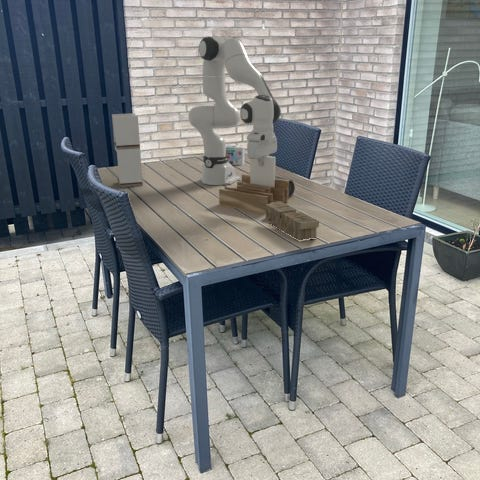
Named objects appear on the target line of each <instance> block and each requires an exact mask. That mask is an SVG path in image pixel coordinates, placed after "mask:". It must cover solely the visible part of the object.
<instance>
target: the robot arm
mask: <svg viewBox="0 0 480 480" xmlns="http://www.w3.org/2000/svg"><path fill="white" fill-rule="evenodd" d="M198 54H199V56H200V57H201V59H203V63H202V74H201V75H202V93H203V94H204V96H205V97H207V98H209V99H211V100H213V101H214V103H215V105H199V106H193V107H192V108H191V109H190V110H189V112H188V117H187V118H188V121H189V123H190V125H191V126H192V127H193V128H194V129H195V130H197V132H199V134H200V136H201V138H202V142H203V153H204V154H203V156H202V157H203V160H202V161H203V165H202V169H201V171H202V174H201V177H200V181H201V183H202V184H203V185H208V186H221V185H222V186H223V185H232V184H233V183H235V182H238V180H240V179H241V177H240V175H237V173H236V168H235V167H234V165H231V164H230V163H229V162H228V159H230V157H231V156H230V155H226V147H227V143H226V140H225V138H224V137H223V136H222V135H220V134H217V133H216V132H215V131H214V129H229V128H235V127H237V126H238V125H239V122H240V119H241V121H242V122H243V123H244V124H246V125H253V126H252V130H251V132H250V133H248V134H247V136H246V140H247V144H246V145H247V147H246V152H247V154H246V155H247V158H248V159H257V160H258V166H260V167H261V166H263V164H264V162H262V159H263V156H270V155H271V154H274V153H276V152H277V151H278V138H277V136H276V134H275V132H274V124H275V123H276V122H277V121H278V120H279V119H280V117H281V115H282V110H281V107H280V104H279V103H278V102H277V101H276V100H275V98H274V96H273V94H272V91H271V90H270V88H269V86H268V85H267V82H266V80H265V78H264V76H263V75H262V73H261V72H260V71H259V70H258V69H256V67H254V65H253V64H252V63H251V61H250V59H249V56H248V53H247V51H246V49H245V45H244V42H243V40H241V39H240V38H237V37H231V36H230V37H229V36H206V37H205V36H204V37H203V38H202V39H201V40H200V41H199V44H198ZM225 69H226V72H227V74H228V75H229V77H230V79H231V80H233V81H235V82H237V83H241V84H245V85H248V86H249V87H251V88H252V89H254V90H255V92H257V95H256V96H254V98H253V99H252V100H251V101H248V102H245V103H243V105H241V108H240V109H239V110H240V111H239V110H238V108H237V107H235V105H233V103H231V101H230V99H229V98H228V95H227V92H226V91H227V90H226V74H225V73H226V72H225ZM227 158H228V159H227Z"/></svg>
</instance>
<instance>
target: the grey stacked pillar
mask: <svg viewBox="0 0 480 480" xmlns="http://www.w3.org/2000/svg"><path fill="white" fill-rule="evenodd" d="M111 117H112V120H111V121H112V130H113V132H112V133H113V142H114V150H115V152H116V157H117V170H118V171H117V172H118V178H117V184H118V186H119V188H120V187H121V188H130V187H131V186H133V187H142V186H144V185H143V184H144V183H143V170H142V168H143V167H142V157H141V155H142V154H141V144H140V143H141V142H140V129H139V128H140V127H139V125H140V124H139V116H138V114H136V113H117V114H115V113H114V114H113V113H112V114H111ZM131 188H132V187H131Z"/></svg>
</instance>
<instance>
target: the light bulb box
mask: <svg viewBox="0 0 480 480" xmlns="http://www.w3.org/2000/svg"><path fill="white" fill-rule="evenodd" d="M226 155H230V156H231V157H230V159H228V158H227V159H228V162H229V163H230V164H231V165H232V166H243V165H244V164H245V145H239V144H238V145H235V144H234V145H233V144H231V145H230V144H228V145H227V144H226Z"/></svg>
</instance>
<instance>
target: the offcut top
mask: <svg viewBox="0 0 480 480" xmlns="http://www.w3.org/2000/svg"><path fill="white" fill-rule="evenodd" d="M236 188H238V189H244V190H250V191H256V192H262V193H269V194H270V193H271V188H270V187H264V186H258V185H252V184H246V183H244V184H241V185H238V186H237V185H236Z"/></svg>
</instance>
